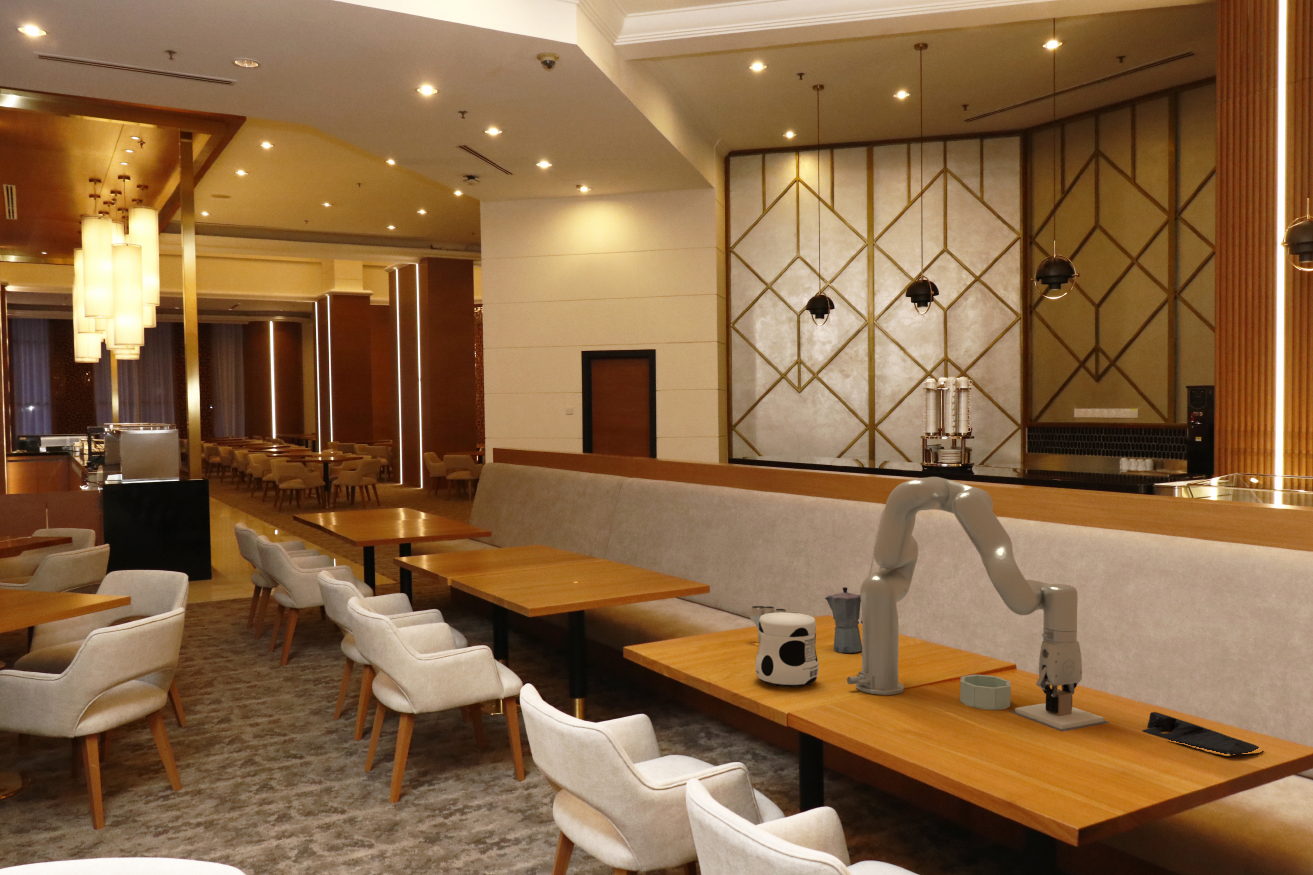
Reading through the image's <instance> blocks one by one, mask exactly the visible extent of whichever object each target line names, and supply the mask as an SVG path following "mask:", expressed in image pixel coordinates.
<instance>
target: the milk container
mask: <svg viewBox="0 0 1313 875" xmlns="http://www.w3.org/2000/svg"><path fill="white" fill-rule="evenodd" d="M816 627H817V624H816V619H815V617H813V616H811V615H808V614H804V613H799V612H796V613H786V612H779V613H768V614H764V615H761V617H760V620H759V646H758V648H757V649H758V650H757V654H756V658H755V672H756V673H755V674H756V676H757V678H758V679H759V680H760V681H761V682H762V683H764V684H767V685H770V686H774V687H780V688H800V687H806V686H809V685H811V684H814V683H815V682H816V680H817V678H818V675H819V670H820V668H819V667H820V666H819V659H818V655H817V651H816V650H817V649H816V641H817V640H816V639H817V634H816V629H817V628H816Z"/></svg>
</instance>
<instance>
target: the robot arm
mask: <svg viewBox="0 0 1313 875" xmlns="http://www.w3.org/2000/svg"><path fill="white" fill-rule="evenodd" d="M934 509H938V510H941V511H944V512H947V513H951V514H953V515H954V516H955V518H956V520H957V521H958V523H959V524H960V526H961V528H962V529H963V531H964V532H965V534H966V535H967V537H968V538H969V540H970V541H971V544H973V546H974V547H975V549H976V552H978V554H979V556H980V559H981V562H982V565H983V566H984V568H985V571H986V574H987V576H988V578H989V581H990V582H991V584H992V585H993V587H994V589H995V590H996V592H997V593H998V595H999V596H1000V599H1001V600H1002V602H1004V604H1005V605H1006V607H1007V608H1008V609H1009V610H1010V611H1011V612H1013V613H1014V614H1016V615H1019V616H1029V615H1031V614H1033V613H1034V612H1036V611H1039V610H1042V611H1043V622H1042V623H1043V624H1042V625H1043V629H1042V630H1043V631H1042V634H1041V636H1042V641H1041V646H1040V650H1039V651H1040V652H1039V662H1038V679H1037V681H1036V686H1037V687H1039V688H1040V689H1041V690H1042V692H1043V694H1044V695H1045V703H1046V710H1047V711H1050V712H1052V713H1058V697H1056V694H1057V689H1058V686H1060V687H1061V690H1062V691H1066V692H1069V693H1072V695H1074V694H1075V689H1077V686H1078V684H1079V683H1080V682H1081V681H1082V678H1083V662H1082V660H1083V659H1082V652H1081V646H1080V643H1079V641H1078V635H1077V634H1078V591H1077V589H1076V588H1077V587H1074V586H1072V585H1070V584H1063V583H1047V582H1042V581H1039V580H1034V579H1026V578H1025V576H1024V575H1023V573H1022V572H1021V570H1020V569H1019V566H1018V565H1017V562H1016V560H1015V557H1014V552H1013V542H1012V540H1011V537H1010V535H1009V534H1008V532H1007V530H1006V529H1005V527H1003V525H1002V523H1001V521H999V519H998V517H997V516H996V514H995V512H994V510H993V509H994V501H993V498H992V497H991V495H990V494H989V493H988V492H987V491H986V490H985V489H982V488H979V487H976V486H972V485H968V484H963V483H961V482H958V481H953V480H951V479H947V478H944V477H940V476H928V477H920V478H914V479H910V480H906V481H904V482H901V483H900V484H898V485H896V487H894V488H893V489H892V491H891V492H890V493H889V495H888V498H887V499H886V503H885V507H884V510H883V515H882V519H881V522H880V524H879V529H878V532H877V533H878V534H877V536H876V541H875V543H874V546H873V559H874V560H875V562H876V564H877V565H878V566H879V568H878V571H875V572H872V573H871V574H869V575H868V576H867V577H866V578H864V580H863V581H862V583H861V586H860V592H859V595H860V599H861V603H860V607H861V615H862V616H861V617H862V619H861V621H862V623H861V625H862V626H861V627H862V628H861V629H862V630H861V631H862V634H861V635H862V636H861V637H862V638H861V643H862V651H861V652H862V653H861V670H859V671H858V674H856V676H854V675H853V676H848V677H847V678H846V683H847V684H848V685H855V687H856V689H857V690H858V691H861V692H864V693H867V694H871V695H877V696H878V695H879V696H892V695H898V694H901V693H903V692H904V690H905V685H904V684H903V683H901V682H899V642H900V641H899V638H900V637H899V635H900V634H899V625H900V624H899V614H898V608H897V603H898V602H900V601H902V600H903V599H904V598H905V597H906V596H907V594H908V593H909V590H910V588H911V584H912V581H913V576H914V572H915V569H916V566H917V561H918V556H919V546H918V541H917V540H916V538H915V537H914V536H913V532H914V529H915V524H916V516H917V514H918V513H919V512H921V511H930V510H934Z"/></svg>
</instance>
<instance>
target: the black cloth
mask: <svg viewBox="0 0 1313 875" xmlns="http://www.w3.org/2000/svg"><path fill="white" fill-rule="evenodd" d="M1146 727H1147V728H1146V729H1143V730H1142V732H1143V733H1146V734H1149V735H1153V736H1155V737H1159V738H1161V739H1164V740H1165V739H1166V740H1171V741H1176V742H1179V743H1185V744H1188V745H1191V746H1196V747H1199V748H1204V749H1207V750H1212V751H1216V752H1220V753H1224V754H1230V755H1233V754H1242V753H1248V752H1252V751H1254V750H1256V749H1258V748H1259V747H1260V746H1259V745H1256V744H1253V743H1251V742H1247V741H1244V740H1241V739H1238V738H1235V737H1232V736H1229V735H1226V734H1223V733H1221V732H1219V731H1215V730H1213V729H1210V728H1207V727H1204V726H1202V725H1201V726H1200V725H1198V724H1194V723H1192V722H1189V721H1186V720H1182V719H1179V718H1176V717H1173V716H1171V715H1167V714H1163V713H1160V712H1156V711H1152V712H1150V713H1149V719H1148V721H1147V726H1146ZM1165 732H1166V733H1165Z"/></svg>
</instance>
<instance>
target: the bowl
mask: <svg viewBox="0 0 1313 875" xmlns="http://www.w3.org/2000/svg"><path fill="white" fill-rule="evenodd" d="M959 682H960V683H959V684H960V685H959V686H960V692H959V693H960V694H959V701H960V703H962V704H963V705H965V706H967V707H971V708H974V709H975V708H976V709H980V710H986V711H987V710H988V711H998V710H999V711H1000V710H1005V709H1008V708H1010V707H1011V695H1012V694H1011V693H1012V692H1011V689H1012V686H1011V680H1007V679H1004V678H1002V677H999V676H995V675H986V674H985V675H984V674H968V675H962V676H960V681H959Z"/></svg>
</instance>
